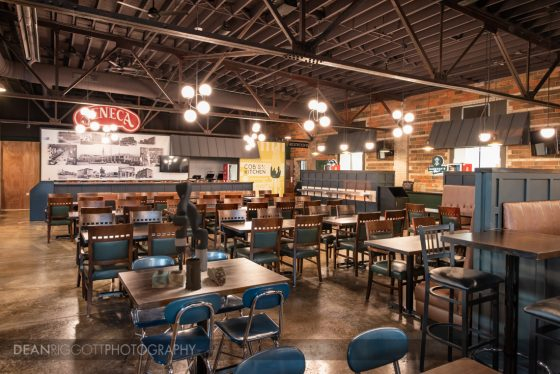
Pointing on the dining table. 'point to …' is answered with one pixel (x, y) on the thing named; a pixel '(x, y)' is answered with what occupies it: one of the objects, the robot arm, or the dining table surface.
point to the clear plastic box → (168, 279)
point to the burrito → (217, 275)
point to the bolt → (177, 270)
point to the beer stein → (193, 274)
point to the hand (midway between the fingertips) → (180, 269)
